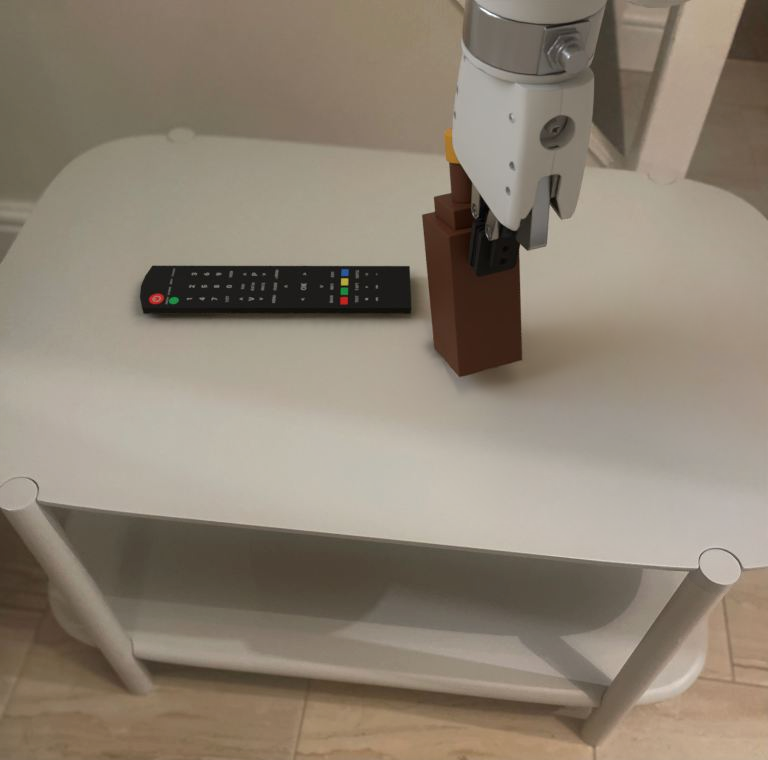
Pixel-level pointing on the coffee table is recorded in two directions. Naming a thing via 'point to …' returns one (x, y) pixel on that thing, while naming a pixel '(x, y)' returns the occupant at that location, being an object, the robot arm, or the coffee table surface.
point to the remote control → (277, 290)
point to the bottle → (467, 286)
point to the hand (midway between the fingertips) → (491, 265)
